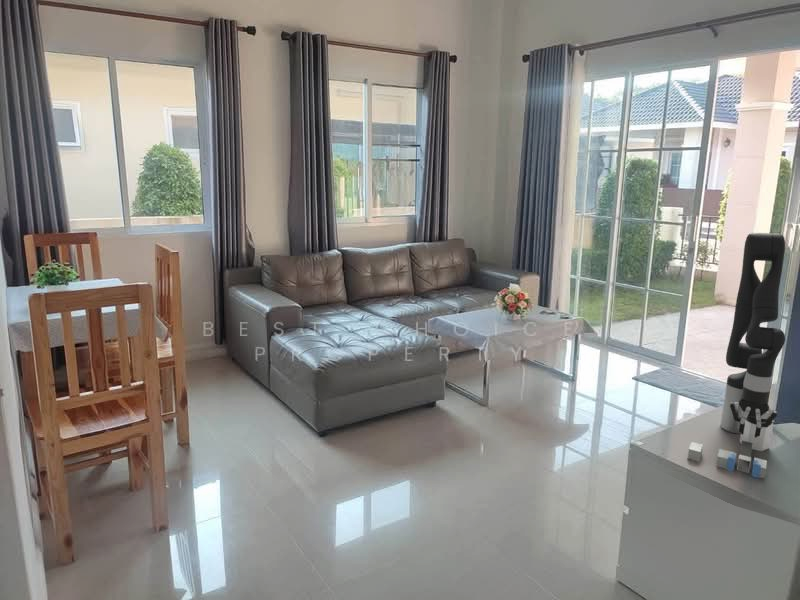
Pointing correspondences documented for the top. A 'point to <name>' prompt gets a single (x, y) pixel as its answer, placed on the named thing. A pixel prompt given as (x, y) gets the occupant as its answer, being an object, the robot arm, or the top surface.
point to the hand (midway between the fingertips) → (748, 434)
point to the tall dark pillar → (745, 457)
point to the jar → (749, 433)
